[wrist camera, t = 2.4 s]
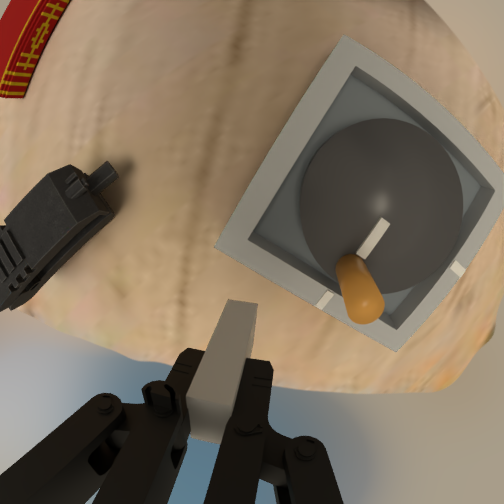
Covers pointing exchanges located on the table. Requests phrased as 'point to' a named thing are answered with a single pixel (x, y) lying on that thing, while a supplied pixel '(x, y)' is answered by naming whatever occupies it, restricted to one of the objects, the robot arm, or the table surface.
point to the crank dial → (380, 210)
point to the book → (24, 41)
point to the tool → (50, 229)
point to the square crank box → (293, 169)
